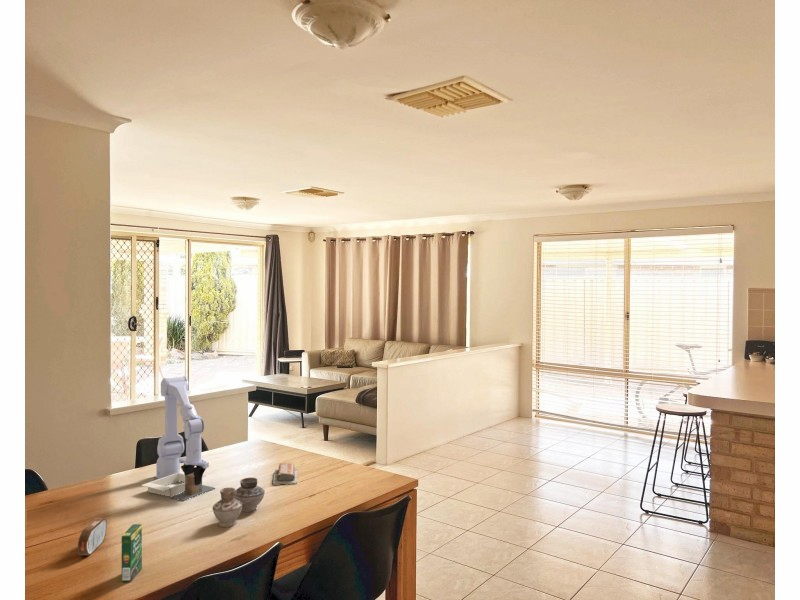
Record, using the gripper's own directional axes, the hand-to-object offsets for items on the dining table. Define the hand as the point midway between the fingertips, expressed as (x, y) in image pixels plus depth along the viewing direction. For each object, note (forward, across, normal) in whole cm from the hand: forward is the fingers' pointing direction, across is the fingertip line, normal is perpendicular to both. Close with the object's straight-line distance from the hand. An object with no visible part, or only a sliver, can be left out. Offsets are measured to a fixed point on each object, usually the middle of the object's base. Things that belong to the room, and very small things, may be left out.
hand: (193, 483), depth 227 cm
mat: (+4, 0, 0) cm, 4 cm away
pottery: (+4, +32, -8) cm, 33 cm away
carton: (+4, -11, 0) cm, 12 cm away
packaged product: (+5, +19, +33) cm, 38 cm away
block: (+3, 0, 0) cm, 3 cm away
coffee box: (+4, +37, -55) cm, 66 cm away
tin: (+4, +12, -50) cm, 52 cm away
